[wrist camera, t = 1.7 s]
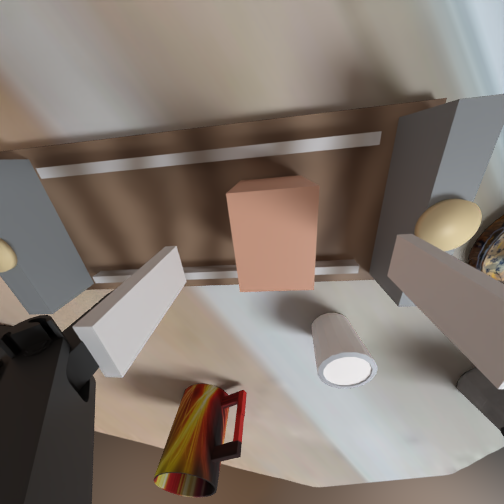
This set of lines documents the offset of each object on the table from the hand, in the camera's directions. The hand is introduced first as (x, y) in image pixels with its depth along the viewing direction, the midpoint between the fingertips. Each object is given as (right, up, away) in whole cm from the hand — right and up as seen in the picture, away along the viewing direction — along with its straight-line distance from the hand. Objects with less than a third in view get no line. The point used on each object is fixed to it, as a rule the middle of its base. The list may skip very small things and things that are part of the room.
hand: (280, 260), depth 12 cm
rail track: (-6, +5, +11) cm, 14 cm away
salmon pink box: (0, +4, +9) cm, 10 cm away
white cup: (+10, -11, +18) cm, 23 cm away
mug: (-10, -28, +28) cm, 40 cm away
